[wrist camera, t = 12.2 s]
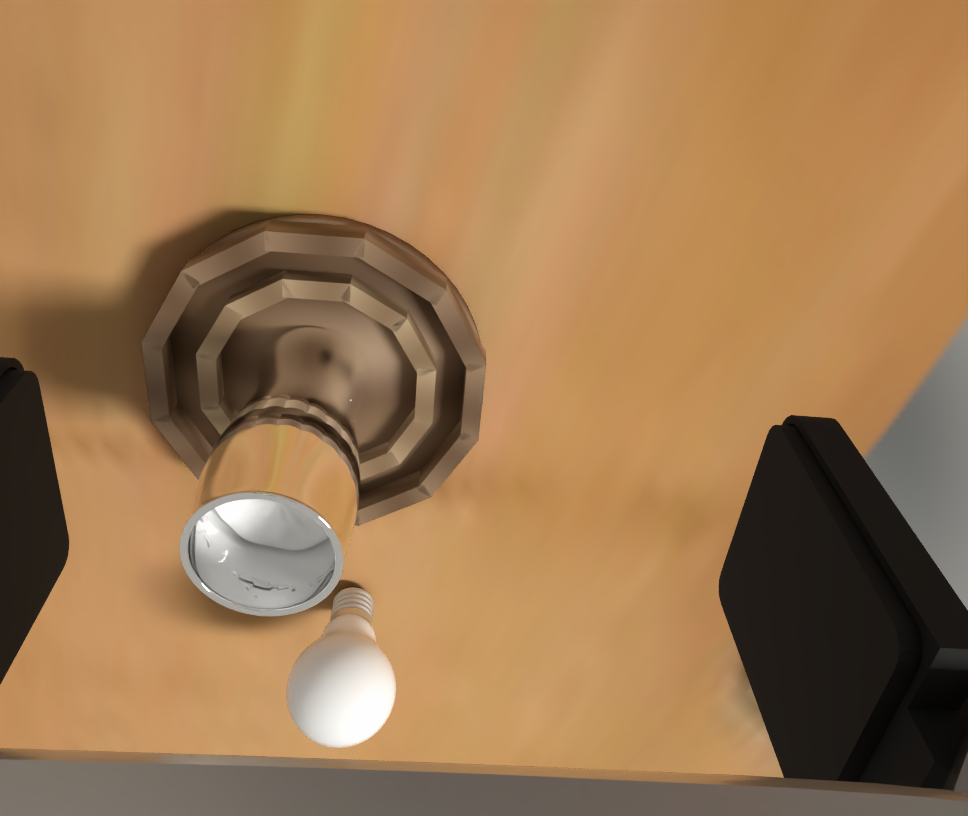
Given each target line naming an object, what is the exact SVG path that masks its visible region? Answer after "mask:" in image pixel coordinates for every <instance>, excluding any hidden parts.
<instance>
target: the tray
mask: <svg viewBox="0 0 968 816" xmlns="http://www.w3.org/2000/svg"><path fill="white" fill-rule="evenodd" d="M300 327H318V328H323V329H327V330H330V331H333V332H335V333H337V334H339V335H341V336H343V337H344V338H346V339H347V340H349V341H350V342H351V343H352V344H353V345H354V346H355V347H356V348H357V349H358V350H359V352H360V353H361V355H362V356H363V358H364V360H365V362H366V365H367V368H368V373H369V387H368V392H367V395H366V398H365V400H364V402H363V404H362V406H361V408H360V409H359V411H358V413H357V415H356V417H355V428H356V436H357V442H358V451H359V459H360V479H361V483H360V494H359V504H358V510H357V515H356V520H355V525H357V526H359V525H362V524H364V523H367V522H369V521H372V520H374V519H377V518H379V517H382V516H385V515H387V514H390V513H392V512H395V511H397V510H400V509H402V508H405V507H408V506H410V505H413V504H415V503H418V502H420V501H423V500H425V499H428V498H430V497H432V496H433V494H434V493H435V492H436V491H437V490H438V488H439V487H440V486H441V485H442V484H443V482H444V481H445V480H446V479H447V478H448V476H449V475H450V474H451V473H452V471H453V470H454V469H455V468H456V467H457V465H458V464H459V463H460V462H461V461H462V459H463V458H464V457H465V456H466V455H467V453H468V452H469V451H470V450H471V449H472V447H473V446H474V445H475V444H476V443H477V441H478V438H479V429H480V419H481V409H482V400H483V390H484V380H485V371H486V355H485V350H484V348H483V346H482V344H481V342H480V338H479V335H478V331H477V327H476V324H475V322H474V320H473V317H472V315H471V313H470V310H469V308H468V306H467V304H466V303H465V301H464V300H463V298H462V296H461V295H460V293H459V291H458V290H457V288H456V287H455V286H454V285H453V283H452V282H451V281H450V280H449V279H448V277H447V276H446V275H445V274H444V272H443V271H441V270H440V269H439V268H438V267H437V266H436V265H435V264H434V263H433V262H432V261H431V260H430V259H429V258H428V257H426V256H425V255H424V254H422V253H421V252H420V251H418V250H417V249H415V248H414V247H413V246H411V245H410V244H408V243H406V242H405V241H403V240H401V239H399V238H397V237H396V236H394V235H392V234H390V233H388V232H386V231H383V230H381V229H378V228H376V227H373V226H371V225H368V224H365V223H361V222H357V221H354V220H350V219H346V218H340V217H333V216H326V215H290V216H281V217H274V218H270V219H266V220H262V221H258V222H254V223H251V224H249V225H246V226H244V227H241V228H239V229H236V230H234V231H232V232H230V233H228V234H227V235H225V236H223V237H221V238H220V239H218V240H216V241H214V242H213V243H212V244H211V245H209V246H208V247H207V248H206V249H204V250H203V251H202V252H201V253H199V254H198V255H197V256H195V257H193V258H190V259H189V260H188V262H187V263H186V265H185V266H184V268H183V269H182V270H181V272H180V274H179V276H178V278H177V280H176V281H175V283H174V285H173V287H172V288H171V290H170V291H169V293H168V294H167V297H166V299H165V301H164V303H163V305H162V306H161V308H160V310H159V312H158V313H157V315H156V317H155V319H154V321H153V322H152V324H151V326H150V328H149V330H148V331H147V333H146V335H145V337H144V339H143V340H142V342H141V345H142V353H143V360H144V368H145V376H146V384H147V391H148V399H149V407H150V415H151V421H152V422H153V424H154V425H155V426H156V427H157V429H158V430H159V431H160V432H161V434H162V435H163V436H164V437H165V439H166V440H167V441H168V442H169V444H170V445H171V446H172V447H173V449H174V450H175V451H176V452H177V454H178V455H179V456H180V457H181V459H182V460H183V461H184V463H185V464H186V465H187V466H188V468H189V469H190V470H191V471H192V473H193V474H194V475H195V476H196V478H197V479H198V480H199V478H200V475H201V472H202V469H203V467H204V465H205V463H206V461H207V459H208V457H209V455H210V453H211V451H212V449H213V447H214V445H215V443H216V442H217V440H218V439H219V437H220V436H221V434H222V433H223V431H224V430H225V429H226V427H227V426H228V424H229V423H230V422H231V421H232V420H233V418H234V417H235V416H236V415H237V413H238V412H239V411H240V410H241V409H242V407H243V406H244V405H245V404H246V403H247V401H248V400H249V399H250V398H251V396H252V395H253V394H254V392H255V389H256V381H257V365H258V361H259V358H260V355H261V353H262V351H263V350H264V348H265V347H266V346H267V344H268V343H269V342H270V341H271V340H273V339H274V338H275V337H276V336H278V335H279V334H281V333H283V332H285V331H288V330H291V329H294V328H300Z"/></svg>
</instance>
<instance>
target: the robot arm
mask: <svg viewBox="0 0 968 816" xmlns="http://www.w3.org/2000/svg"><path fill="white" fill-rule="evenodd" d="M68 551H69V536H68V531H67V525H66V520H65V515H64V510H63V505H62V500H61V494H60V489H59V484H58V479H57V474H56V469H55V463H54V458H53V453H52V448H51V443H50V437H49V432H48V427H47V422H46V417H45V412H44V406H43V401H42V396H41V391H40V386H39V382H38V378H37V376H36V375H35V373H33V372H32V371H24V369H23V366H22V365H21V363H20V361H18V360H17V359H15V358H4V357H0V684H1V682H2V681H3V679H4V677H5V675H6V673H7V671H8V669H9V668H10V666H11V664H12V662H13V660H14V658H15V657H16V655H17V653H18V651H19V649H20V647H21V646H22V644H23V642H24V640H25V638H26V636H27V634H28V633H29V631H30V629H31V627H32V625H33V623H34V622H35V620H36V618H37V616H38V614H39V612H40V610H41V609H42V607H43V605H44V603H45V601H46V599H47V598H48V596H49V594H50V592H51V590H52V588H53V587H54V585H55V583H56V581H57V579H58V577H59V575H60V574H61V572H62V570H63V568H64V566H65V563H66V560H67V557H68ZM719 597H720V601H721V605H722V607H723V610H724V613H725V616H726V618H727V621H728V624H729V627H730V630H731V632H732V635H733V638H734V641H735V643H736V646H737V649H738V652H739V654H740V657H741V660H742V663H743V665H744V668H745V671H746V674H747V676H748V679H749V682H750V685H751V687H752V690H753V693H754V696H755V698H756V701H757V704H758V707H759V710H760V712H761V715H762V718H763V721H764V723H765V726H766V729H767V732H768V734H769V737H770V740H771V743H772V745H773V748H774V751H775V754H776V756H777V759H778V762H779V765H780V767H781V770H782V773H783V776H784V778H778V777H761V776H745V775H721V774H698V773H675V772H651V771H628V770H604V769H581V768H558V767H534V766H508V765H482V764H456V763H430V762H403V761H376V760H348V759H321V758H293V757H266V756H235V755H204V754H172V753H141V752H109V751H78V750H46V749H5V748H0V816H968V610H967V609H966V607H965V606H964V605H963V603H962V602H961V600H960V599H959V597H958V596H957V594H956V593H955V592H954V590H953V589H952V587H951V586H950V584H949V583H948V581H947V580H946V578H945V577H944V576H943V574H942V572H941V571H940V570H939V568H938V567H937V565H936V564H935V562H934V561H933V559H932V558H931V556H930V555H929V554H928V552H927V551H926V549H925V548H924V546H923V545H922V543H921V542H920V541H919V539H918V538H917V536H916V535H915V533H914V532H913V531H912V529H911V527H910V526H909V525H908V523H907V522H906V520H905V519H904V517H903V516H902V514H901V513H900V511H899V510H898V508H897V507H896V506H895V504H894V503H893V501H892V500H891V498H890V497H889V495H888V494H887V492H886V491H885V490H884V488H883V486H882V485H881V484H880V482H879V481H878V479H877V478H876V476H875V475H874V473H873V472H872V470H871V469H870V468H869V466H868V465H867V463H866V462H865V460H864V459H863V457H862V456H861V454H860V453H859V451H858V450H857V449H856V447H855V446H854V444H853V443H852V441H851V440H850V438H849V437H848V435H847V434H846V433H845V431H844V430H843V428H842V427H841V425H840V424H839V423H838V422H837V421H836V420H835V419H832V418H822V417H809V416H795V415H791V416H789V417H787V418H786V419H785V421H784V422H783V424H782V425H774V426H772V428H771V429H770V430H769V433H768V435H767V438H766V440H765V443H764V446H763V449H762V452H761V455H760V458H759V461H758V464H757V467H756V470H755V473H754V476H753V479H752V482H751V485H750V488H749V491H748V494H747V497H746V500H745V503H744V506H743V509H742V512H741V515H740V518H739V521H738V524H737V527H736V530H735V533H734V536H733V539H732V542H731V544H730V547H729V550H728V553H727V556H726V559H725V562H724V565H723V568H722V571H721V575H720V579H719Z"/></svg>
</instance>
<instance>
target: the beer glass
mask: <svg viewBox="0 0 968 816" xmlns="http://www.w3.org/2000/svg"><path fill="white" fill-rule="evenodd" d="M368 387H369V373H368V368H367V365H366V362H365V360H364V358H363V356H362V355H361V353H360V352H359V350H358V349H357V348H356V347H355V346H354V345H353V344H352V343H351V342H350V341H349V340H347V339H346V338H344V337H343V336H341V335H339V334H337V333H335V332H333V331H330V330H327V329H323V328H318V327H300V328H294V329H291V330H288V331H285V332H283V333H281V334H279V335H278V336H276V337H275V338H274V339H273V340H271V341H270V342H269V343H268V344H267V346H266V347H265V348H264V350H263V351H262V353H261V355H260V358H259V361H258V365H257V381H256V389H255V392H254V394H253V395H252V396H251V398H250V399H249V400H248V401H247V403H246V404H245V405H244V406H243V407H242V409H241V410H240V411H239V412H238V413H237V415H236V416H235V417H234V418H233V420H232V421H231V422H230V423H229V424H228V426H227V427H226V429H225V430H224V431H223V433H222V434H221V436H220V437H219V439H218V440H217V442H216V443H215V445H214V447H213V449H212V451H211V453H210V455H209V457H208V459H207V461H206V463H205V465H204V467H203V469H202V472H201V475H200V478H199V480H198V483H197V486H196V489H195V492H194V495H193V499H192V502H191V505H190V509H189V513H188V517H187V520H186V524H185V526H184V528H183V531H182V533H181V537H180V544H179V551H180V558H181V562H182V565H183V567H184V569H185V571H186V573H187V575H188V577H189V578H190V580H191V581H192V582H193V583H194V585H195V586H196V587H197V588H198V589H199V590H200V591H201V592H203V593H204V594H205V595H206V596H208V597H209V598H210V599H212V600H213V601H215V602H217V603H219V604H221V605H223V606H225V607H227V608H229V609H232V610H235V611H238V612H241V613H245V614H250V615H256V616H284V615H290V614H294V613H298V612H301V611H304V610H306V609H309V608H311V607H313V606H315V605H316V604H318V603H320V602H321V601H322V600H324V599H325V598H326V597H327V596H328V595H329V594H330V593H331V592H332V591H333V590H334V588H335V587H336V585H337V584H338V582H339V580H340V578H341V575H342V571H343V566H344V560H345V557H346V554H347V550H348V547H349V544H350V540H351V536H352V533H353V529H354V525H355V520H356V515H357V510H358V504H359V494H360V483H361V479H360V459H359V451H358V442H357V436H356V428H355V417H356V415H357V413H358V411H359V409H360V408H361V406H362V404H363V402H364V400H365V398H366V395H367V392H368Z"/></svg>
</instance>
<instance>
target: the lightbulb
mask: <svg viewBox="0 0 968 816" xmlns="http://www.w3.org/2000/svg"><path fill="white" fill-rule="evenodd" d="M373 611H374V599H373V597H372V596H371V594H370V593H368V592H367V591H365V590H363V589H360V588H354V587H352V588H346V589H343V590H341V591H339V592H338V593H337V594H336V595H335V597H334V601H333V606H332V612H331V618H330V622H329V623H328V625H327V626H326V627H325V629H324V631H323V633H322V636H321V638H319V639H318V640H316V641H315V642H313V643H312V644H311V645H310V646H308V647H307V648H306V649H305V650H304V651H303V652H302V653H301V654H300V656H299V657H298V658H297V660H296V661H295V663H294V665H293V667H292V669H291V671H290V674H289V677H288V681H287V687H286V700H287V706H288V710H289V713H290V716H291V718H292V720H293V722H294V723H295V725H296V726H297V728H298V729H299V730H300V731H301V732H302V733H303V734H304V735H305V736H306V737H307V738H309V739H310V740H312V741H314V742H316V743H318V744H320V745H323V746H327V747H333V748H344V747H350V746H354V745H357V744H359V743H362V742H364V741H366V740H367V739H369V738H370V737H372V736H373V735H374V734H375V733H376V732H378V731H379V729H380V728H381V727H382V726H383V725H384V723H385V722H386V720H387V719H388V717H389V715H390V713H391V711H392V708H393V705H394V701H395V696H396V680H395V675H394V671H393V668H392V666H391V663H390V661H389V659H388V658H387V656H386V655H385V653H384V652H383V651H382V649H381V648H380V647H379V646H378V645H377V644H376V638H375V633H374V630H373V628H372V620H373Z"/></svg>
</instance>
